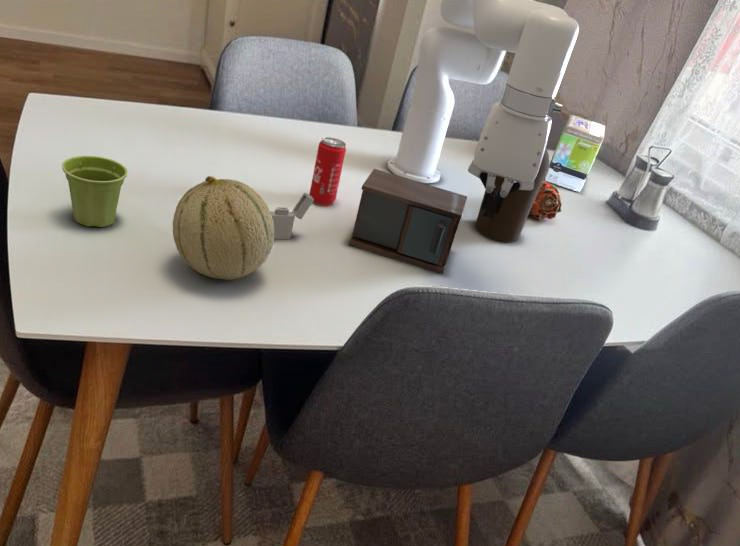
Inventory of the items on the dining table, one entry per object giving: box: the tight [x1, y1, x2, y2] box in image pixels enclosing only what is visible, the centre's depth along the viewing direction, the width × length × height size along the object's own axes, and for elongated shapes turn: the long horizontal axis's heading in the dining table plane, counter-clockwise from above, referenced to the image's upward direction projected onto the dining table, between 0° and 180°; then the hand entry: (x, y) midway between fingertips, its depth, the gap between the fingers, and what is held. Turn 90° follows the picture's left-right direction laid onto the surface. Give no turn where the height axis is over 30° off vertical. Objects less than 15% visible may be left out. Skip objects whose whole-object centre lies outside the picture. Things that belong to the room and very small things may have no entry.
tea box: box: [544, 114, 606, 193], centre depth 183 cm, size 15×10×15 cm
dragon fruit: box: [528, 179, 563, 221], centre depth 158 cm, size 8×8×12 cm
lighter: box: [269, 192, 314, 240], centre depth 121 cm, size 7×2×8 cm, turn 114°
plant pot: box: [61, 155, 129, 228], centre depth 111 cm, size 9×9×9 cm
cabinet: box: [348, 168, 468, 275], centre depth 127 cm, size 10×18×11 cm, turn 77°
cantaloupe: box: [172, 175, 275, 281], centre depth 104 cm, size 15×15×15 cm
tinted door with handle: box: [397, 205, 456, 266], centre depth 121 cm, size 4×8×9 cm, turn 77°
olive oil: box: [474, 147, 550, 243], centre depth 140 cm, size 11×11×25 cm
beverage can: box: [309, 136, 347, 207], centre depth 136 cm, size 5×5×12 cm
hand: (488, 215), depth 115 cm, fingers closed
